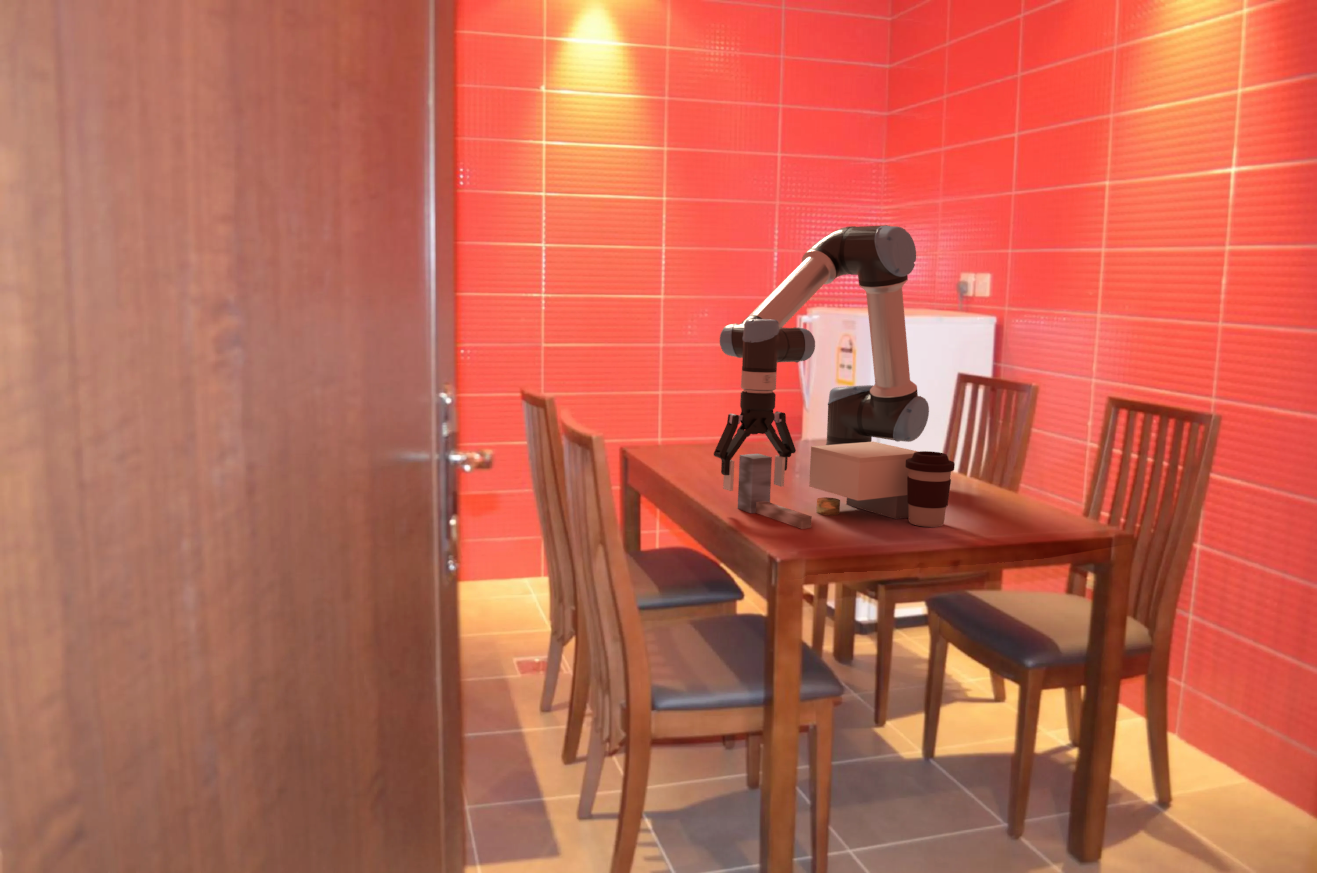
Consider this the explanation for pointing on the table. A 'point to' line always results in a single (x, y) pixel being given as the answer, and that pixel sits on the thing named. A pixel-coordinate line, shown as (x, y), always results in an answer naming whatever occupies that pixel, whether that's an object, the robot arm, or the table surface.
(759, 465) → the grey l-shaped bracket
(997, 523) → the table surface
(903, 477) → the beige grey overhanging block
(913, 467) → the coffee cup
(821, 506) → the cylinder
